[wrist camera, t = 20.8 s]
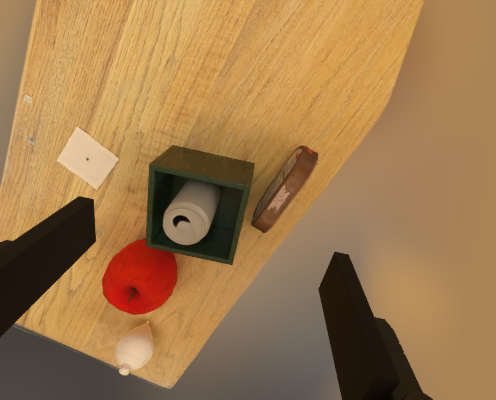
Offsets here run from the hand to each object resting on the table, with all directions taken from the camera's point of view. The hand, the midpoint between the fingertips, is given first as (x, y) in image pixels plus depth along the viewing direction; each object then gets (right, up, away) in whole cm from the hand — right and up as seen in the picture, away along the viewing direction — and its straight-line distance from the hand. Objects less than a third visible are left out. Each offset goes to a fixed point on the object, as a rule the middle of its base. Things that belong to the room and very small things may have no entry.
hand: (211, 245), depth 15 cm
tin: (+7, +6, +31) cm, 32 cm away
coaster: (-25, +9, +32) cm, 42 cm away
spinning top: (-21, -25, +49) cm, 59 cm away
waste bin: (-5, +4, +33) cm, 33 cm away
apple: (-16, -7, +39) cm, 43 cm away
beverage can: (-6, +4, +32) cm, 33 cm away
